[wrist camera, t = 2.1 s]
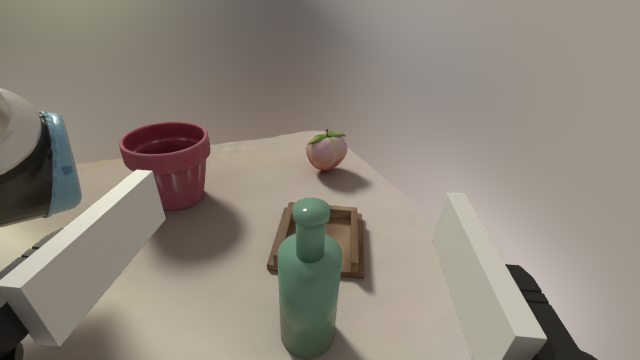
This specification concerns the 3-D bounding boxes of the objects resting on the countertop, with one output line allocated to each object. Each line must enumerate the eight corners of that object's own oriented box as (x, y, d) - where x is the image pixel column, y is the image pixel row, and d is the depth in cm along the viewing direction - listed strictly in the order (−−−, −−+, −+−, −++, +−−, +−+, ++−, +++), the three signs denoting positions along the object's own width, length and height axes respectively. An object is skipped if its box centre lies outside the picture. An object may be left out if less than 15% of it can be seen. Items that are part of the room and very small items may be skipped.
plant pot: (218, 212, 57) (208, 149, 50) (132, 226, 53) (108, 158, 46) (215, 174, 68) (207, 118, 62) (144, 182, 64) (127, 123, 58)
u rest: (267, 269, 46) (266, 254, 44) (284, 211, 58) (284, 198, 56) (363, 278, 45) (365, 263, 43) (360, 218, 57) (362, 204, 55)
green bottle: (275, 355, 35) (268, 228, 26) (286, 306, 41) (282, 186, 31) (332, 361, 35) (346, 235, 25) (335, 310, 40) (347, 191, 31)
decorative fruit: (327, 157, 77) (330, 118, 72) (351, 171, 72) (355, 130, 67) (297, 168, 72) (296, 127, 67) (319, 183, 67) (321, 140, 61)
